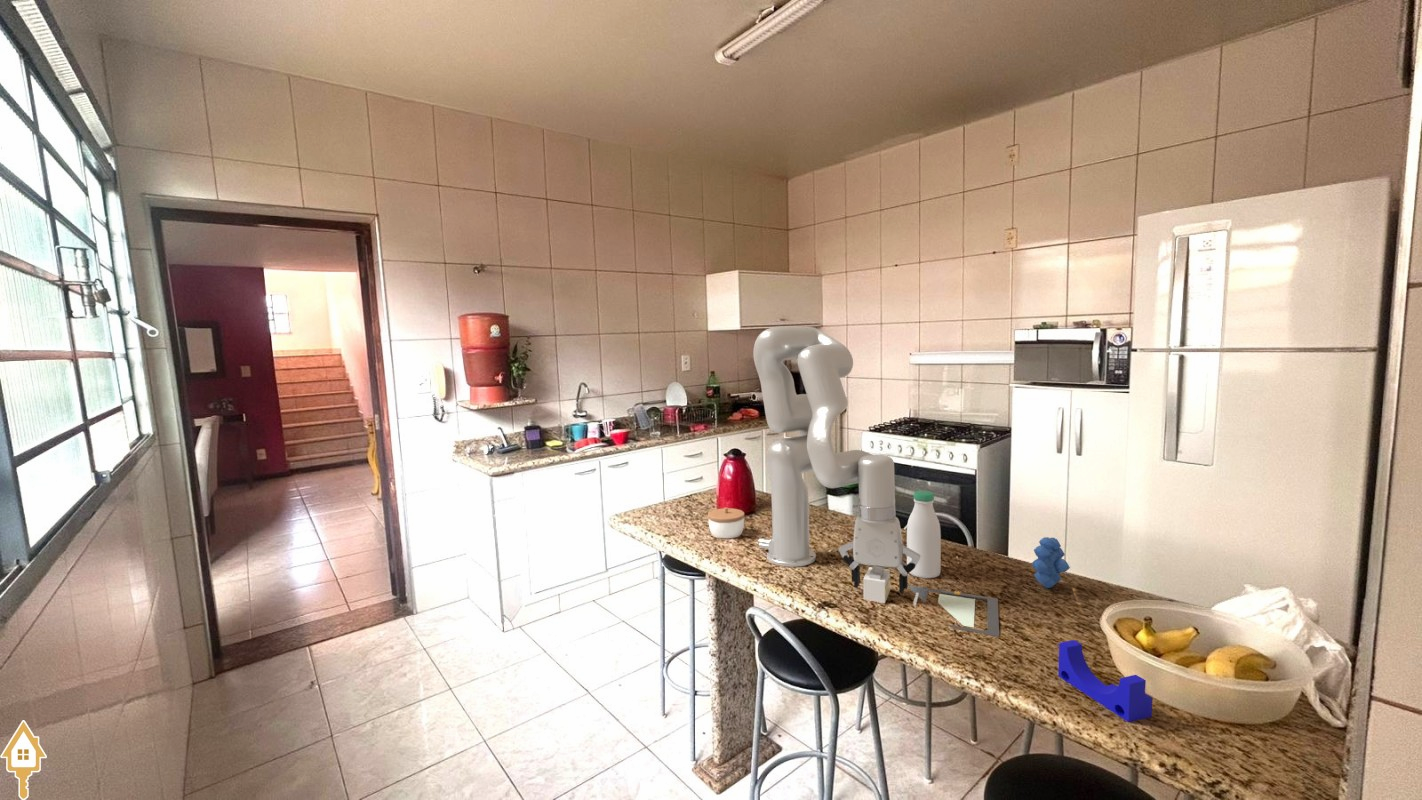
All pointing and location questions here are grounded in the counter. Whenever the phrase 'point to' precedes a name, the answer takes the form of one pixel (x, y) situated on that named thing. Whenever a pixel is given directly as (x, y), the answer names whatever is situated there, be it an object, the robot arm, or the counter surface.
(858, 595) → the counter surface
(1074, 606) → the counter surface
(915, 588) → the two-window grey frame
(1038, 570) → the grapes
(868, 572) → the plug
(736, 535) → the lidded jar
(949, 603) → the port pad
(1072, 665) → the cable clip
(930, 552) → the milk bottle
